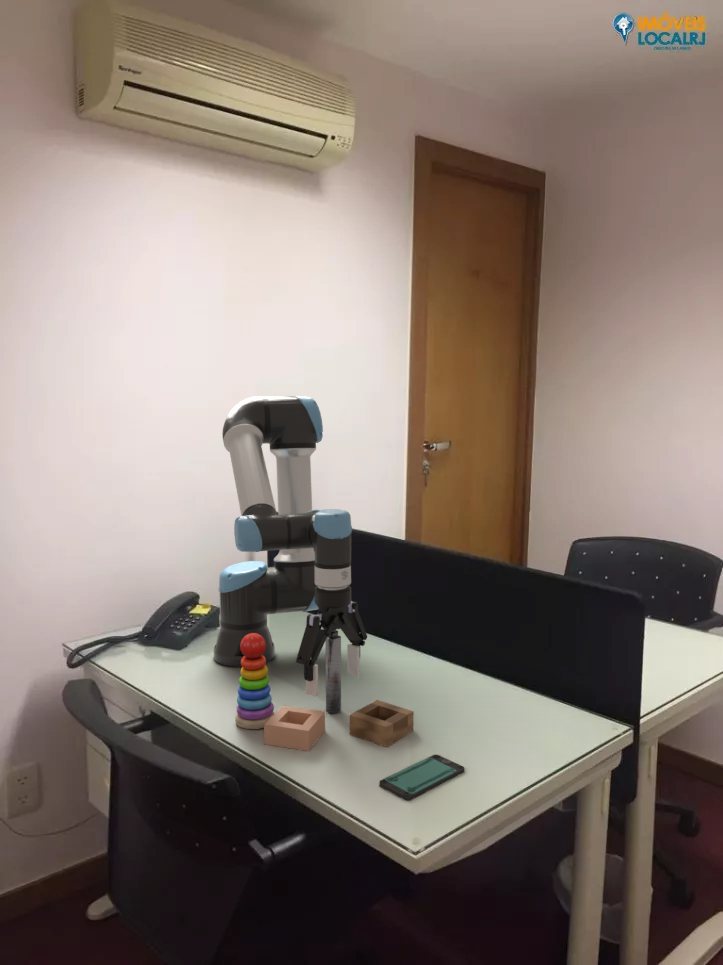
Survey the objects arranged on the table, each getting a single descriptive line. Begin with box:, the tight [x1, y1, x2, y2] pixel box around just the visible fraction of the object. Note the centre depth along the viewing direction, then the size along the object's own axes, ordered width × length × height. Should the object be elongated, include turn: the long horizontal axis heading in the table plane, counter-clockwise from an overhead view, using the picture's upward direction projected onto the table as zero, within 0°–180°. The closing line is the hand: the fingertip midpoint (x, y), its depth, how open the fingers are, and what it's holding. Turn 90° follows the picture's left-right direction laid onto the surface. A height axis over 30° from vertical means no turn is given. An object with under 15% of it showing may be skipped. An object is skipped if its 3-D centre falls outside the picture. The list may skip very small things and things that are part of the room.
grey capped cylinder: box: [325, 629, 342, 715], centre depth 164 cm, size 3×3×17 cm
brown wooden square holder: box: [349, 699, 415, 748], centre depth 155 cm, size 9×9×4 cm
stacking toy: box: [234, 633, 275, 730], centre depth 159 cm, size 8×8×19 cm
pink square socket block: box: [263, 705, 326, 752], centre depth 153 cm, size 9×9×4 cm
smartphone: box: [379, 753, 466, 802], centre depth 138 cm, size 7×1×15 cm
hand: (333, 684), depth 165 cm, fingers open, 13 cm apart
